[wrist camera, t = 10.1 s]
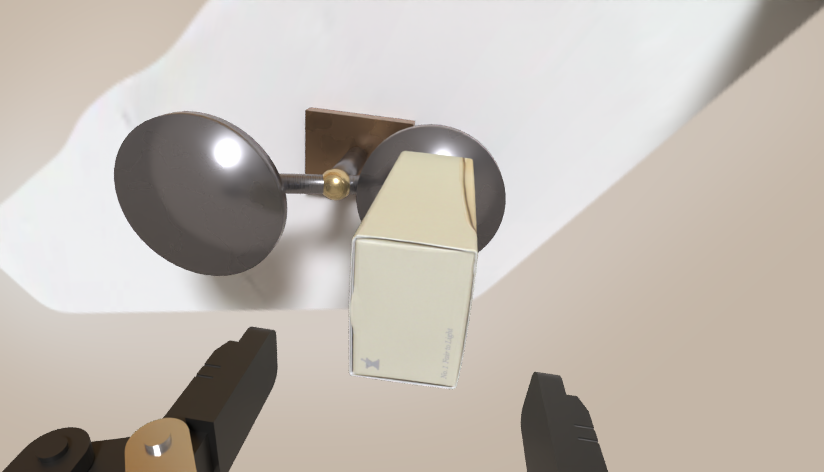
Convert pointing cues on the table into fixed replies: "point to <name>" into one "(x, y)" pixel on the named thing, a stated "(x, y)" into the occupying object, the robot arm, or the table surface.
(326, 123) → the balance
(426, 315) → the skincare box
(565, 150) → the table surface
